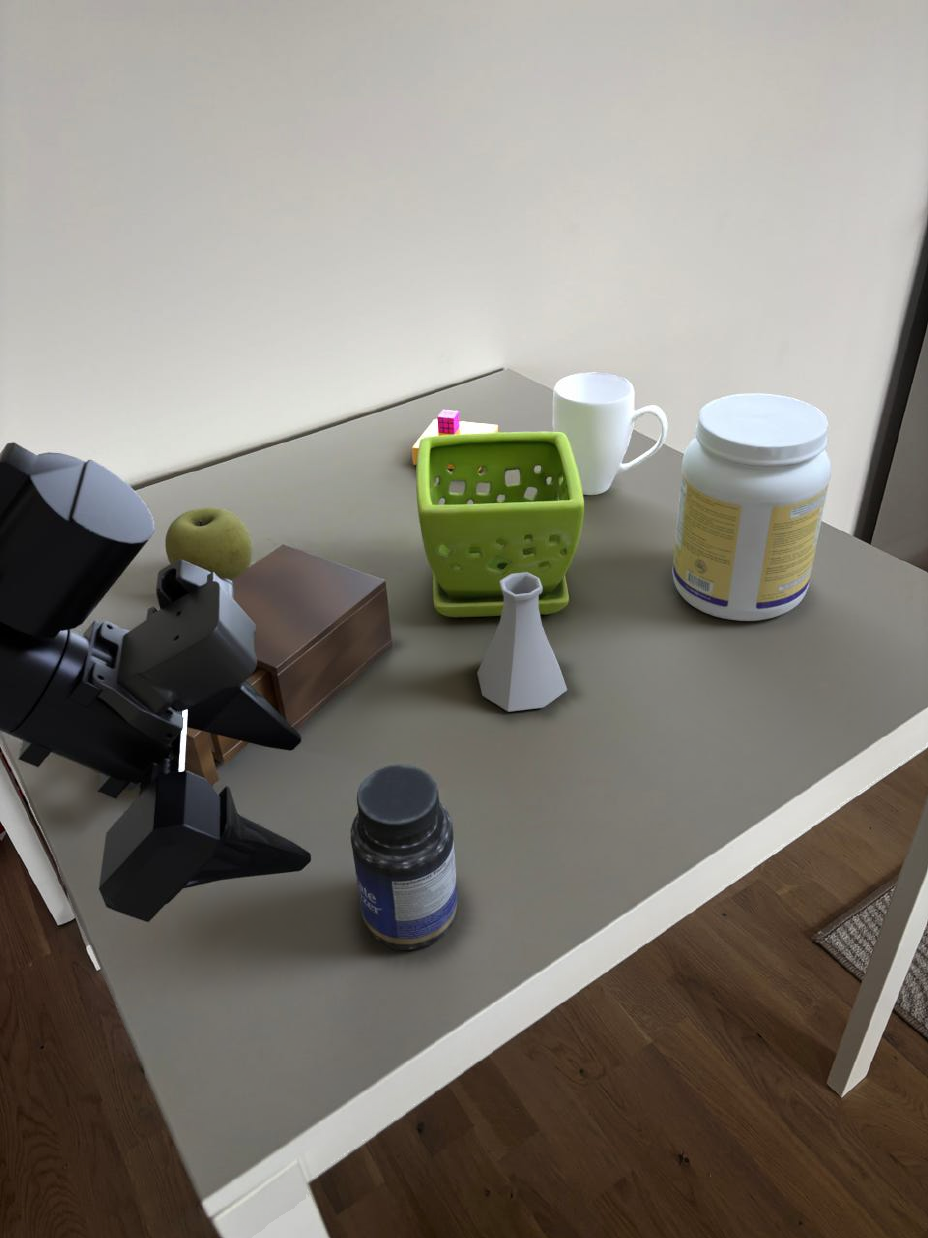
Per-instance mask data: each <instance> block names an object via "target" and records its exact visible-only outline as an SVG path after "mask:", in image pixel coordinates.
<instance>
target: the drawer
mask: <svg viewBox="0 0 928 1238" xmlns="http://www.w3.org/2000/svg"><path fill="white" fill-rule="evenodd" d="M247 681H248V682H249V683H250V684H251V685H252V686H253V687H254V689H255V690H256V691H257V692H258V693H259V694H260V695H261V696H262V697H263V698H264V699H265V700H266V701H267V702H268V703H269V704H270V705H271V706H272V707H273V708H274V709H275V710H276V711H277V712H278V713H279V709H278V704H277V699H276V694H275V690H274V685H273V680H272V675H271V672H270V671H268V670H265V669H263V668H261V667H258V666H256V669H255V671H254V672H253V674H252V675H251V676H250V677H249V678H248V679H247ZM249 744H250V743H248V742H244V741H240V740H236V739H232V738H228V737H224V736H220V735H216V734H212V733H208V732H204V731H200V730H196V729H192V728H188V727H187V731H186V749H185V766H184V771H186V770H187V771H189V772H191V773H194V774H196V775H198V776H200V777H203V778H205V779H207V781H208V782H209V783H210V785H211V786H212V787H213V786H214V785H215V784H216V783H218V782H219V780H220V778H219V774H218V770H217V767H216V764H215V760H216V761H218V762H219V763H221V764H223V765H226V764H227V763H228V762H229V761H230V760H231V759H233V758H234V757H236V755H237V754H239V752H241V751H243V749H244V748H246V747H247V746H248V745H249ZM90 770H91V771H93V772H95V773H97V774H98V775H100V772H97V771H95V770H93V769H90ZM139 787H140V783H139V784H137V785H136V784H133V783H130V784H129V785H128V786H127V787H126V788H125V789H124V790H126V791H129V792H133V791H135V790H137V789H138V788H139Z"/></svg>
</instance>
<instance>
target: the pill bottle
mask: <svg viewBox="0 0 928 1238" xmlns="http://www.w3.org/2000/svg"><path fill="white" fill-rule="evenodd" d="M356 805H357V812H356V814H355V816H354V817H353V820H352V823H351V827H350V844H351V850H352V858H353V863H354V870H355V876H356V882H357V889H358V895H359V901H360V908H361V914H362V915H361V916H362V919H363V922H364V925H365V928H366V929H367V931H368V932H369V935H371V936H372V938H374V939H375V940H376V941H379V942H380V943H383V944H386V945H387V946H388V947H389V948H391V949H396V950H402V951H413V950H418V949H422V948H425V947H429V946H430V945H431V946H432V945H433V944H435V943H437V942H438V941H439V940H441V939H442V938H444V937H445V935H446V934H448V932H449V931H450V929H451V928H452V926H453V924H454V923H455V921H456V919H457V914H458V905H459V904H458V888H457V871H456V857H455V855H456V854H455V839H454V826H453V821H452V818H451V816H450V813H449V811H448V810H447V808H446V806H444V804H442V802H441V801H440V795H439V789H438V785H437V782H436V781H435V779H434V778H433V777H432V775H430V773H428V772H427V771H426V770H425V769H421V768H420V767H417V766H414V765H409V764H393V765H388V766H383V767H381V768H378V769H375V771H373V772H371V773H370V774H369V775H367V776H366V777H365V778H364V780H363V781H362V782H361V783H360V785H359V787H358V789H357V794H356Z"/></svg>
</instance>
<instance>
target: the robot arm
mask: <svg viewBox="0 0 928 1238" xmlns="http://www.w3.org/2000/svg"><path fill="white" fill-rule="evenodd" d="M155 527H156V526H155V522H154V517H153V515H152V513H151V511H150V509H149V507H148V506H147V504H146V503H145V501H144V500H143V499H142V498H141V496H140V495H139V494H138V493H137V492H136V490H134V489H133V488H132V486H131V485H129V484H128V483H127V482H125V481H124V480H123V479H122V478H121V477H120V476H119V475H117V474H116V473H114V472H113V471H111V470H110V469H108V467H105V466H104V465H102V464H100V463H98V462H97V461H94V460H92V459H88V460H86V461H85V460H83V459H80V458H78V457H75V456H72V455H69V454H65V453H61V452H50V451H49V452H42V453H39V454H36V453H34V452H32V451H30V450H28V449H27V448H25V447H23V446H22V445H20V444H19V443H16V442H15V441H14V442H7V443H6V444H5V445H4V447H3V448H2V450H1V451H0V732H2V733H4V734H7V735H9V736H12V737H14V738H16V739H18V740H20V741H22V744H21V748H20V750H19V751H20V752H19V755H18V760H19V761H22V762H24V763H26V764H29V765H31V766H34V767H35V768H39V767H40V766H41V765H42V764H43V763H44V761H45V760H46V759H47V758H48V757H49V755H50V754H51V753H52V754H53V755H57V756H60V757H62V758H63V759H66V760H69V761H71V762H74V763H76V764H79V765H80V766H83V767H86V768H88V769H89V770H91V769H93V770H95V771H97V772H100V774H99V781H98V787H97V793H100V794H103V795H105V796H108V797H110V798H113V799H115V800H116V799H117V798H119V796H120V795H121V794H122V793H123V792H124V791H125V790H126V789H125V788H126V787H127V786H128V785H129V784H130V783H133V784H136V785H137V784H139V783H140V785H139V794H138V797H137V798H136V799H135V800H134V801H133V802H132V803H131V804H130V806H129V807H127V809H126V810H125V811H124V812H123V813H122V814H121V815H120V817H119V818H118V819H117V820H116V821H115V822H114V823H113V825H111V826H110V828H109V829H108V830H107V831H106V833H105V840H104V848H103V854H102V860H101V861H102V862H101V870H100V877H99V883H98V891H99V893H100V895H101V898H102V900H103V903H104V905H105V907H106V908H107V909H110V910H112V911H114V912H117V913H118V914H119V913H120V914H123V915H125V916H128V917H131V918H134V919H137V920H139V921H143V922H145V923H149V922H150V921H151V920H152V919H154V917H156V915H158V913H159V912H160V911H161V910H162V909H163V908H164V907H165V906H166V905H168V904H170V903H171V902H172V901H173V900H174V898H175V897H177V895H178V894H180V893H181V891H183V890H184V889H188V888H193V887H197V886H201V885H207V884H211V883H215V882H221V881H226V880H227V881H229V880H235V879H243V878H244V879H245V878H252V877H261V876H269V875H270V876H271V875H279V874H286V873H289V874H290V873H296V872H300V871H302V870H304V869H305V868H306V867H307V866H308V865H309V864H310V863H311V862H312V854H311V853H310V852H309V851H307V850H306V849H305V848H303V847H301V846H300V845H299V844H296V843H295V842H293V841H292V840H290V839H288V838H286V837H284V836H282V835H280V834H278V833H276V832H274V831H272V830H271V829H268V828H267V827H264V826H262V825H260V824H259V823H256V822H255V821H253V820H250V819H249V818H247V817H244V816H242V815H240V814H239V813H238V811H237V807H236V803H235V800H234V797H233V794H232V790H231V788H230V787H229V786H228V785H225V786H224V788H223V789H222V790H221V791H220V792H219V793H218V792H217V791H216V790H215V788H214V787H213V786H211V785H210V783H209V782H208V781H207V779H205V778H203V777H200V776H198V775H196V774H194V773H191V772H189V771H187V770H186V771H184V766H185V749H186V731H187V727H188V728H192V729H196V730H200V731H204V732H208V733H212V734H216V735H220V736H224V737H228V738H232V739H236V740H240V741H244V742H248V743H249V744H253V745H257V746H259V747H260V746H261V747H264V748H270V749H275V750H283V751H289V752H291V751H293V750H295V749H296V748H297V747H298V746H299V745H300V744H301V742H302V736H301V734H300V733H299V732H298V731H297V730H295V729H294V728H293V727H292V726H291V725H290V724H289V723H288V722H287V721H286V720H285V719H284V718H283V717H282V716H281V715H280V714H279V713H278V712H277V711H276V710H275V709H274V708H273V707H272V706H271V705H270V704H269V703H268V702H267V701H266V700H265V699H264V698H263V697H262V696H261V695H260V694H259V693H258V692H257V691H256V690H255V689H254V687H253V686H252V685H251V684H250V683H249V682H248V681H247V679H248V678H249V677H250V676H251V675H252V674H253V672H254V671H255V669H256V666H257V655H256V653H255V642H254V634H255V633H256V625H255V623H254V622H253V621H252V620H251V619H250V618H249V616H248V615H247V614H246V613H245V612H244V611H243V610H242V608H241V607H240V606H239V605H238V604H237V603H236V602H235V600H234V585H233V582H232V581H231V580H229V579H227V578H222V579H220V578H219V577H218V576H217V575H216V574H215V573H214V572H212V573H211V572H209V571H207V570H205V569H202V568H200V567H198V566H195V565H193V564H191V563H189V562H186V561H184V560H182V559H178V560H177V561H175V562H173V563H171V564H170V563H169V564H167V565H166V566H165V567H163V568H161V569H160V570H158V572H157V577H156V587H155V594H156V599H157V602H158V606H159V609H157V608H156V607H155V605H153V606H150V607H149V608H147V610H146V618H145V620H143V622H142V623H139V624H138V625H137V626H135V627H134V628H132V629H131V630H130V629H125V628H122V627H120V626H118V625H116V624H114V623H112V622H110V621H108V620H107V621H106V620H105V621H103V622H99V621H97V620H96V619H94V620H93V621H92V622H91V623H90V625H89V626H88V627H87V628H86V630H85V631H84V632H83V633H82V632H79V631H78V630H75V629H76V628H78V627H79V626H81V625H83V624H84V623H85V621H86V620H87V619H88V617H89V616H90V615H91V614H92V612H93V611H94V610H95V609H96V608H97V606H98V605H99V604H100V602H101V601H102V600H103V599H104V597H105V596H106V595H107V594H108V592H109V591H110V590H111V588H112V587H113V586H114V585H115V583H117V581H118V580H119V578H120V577H121V576H122V575H123V573H124V572H125V571H126V569H127V568H128V567H129V566H130V564H131V563H132V562H133V561H134V560H135V558H136V557H137V556H138V554H139V553H140V552H141V551H142V549H143V548H144V547H145V546H146V544H147V543H148V542H149V540H150V539H151V538H152V537H153V535H154V533H155V529H156V528H155ZM93 770H92V771H93ZM95 771H94V772H95ZM97 772H96V773H97Z"/></svg>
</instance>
